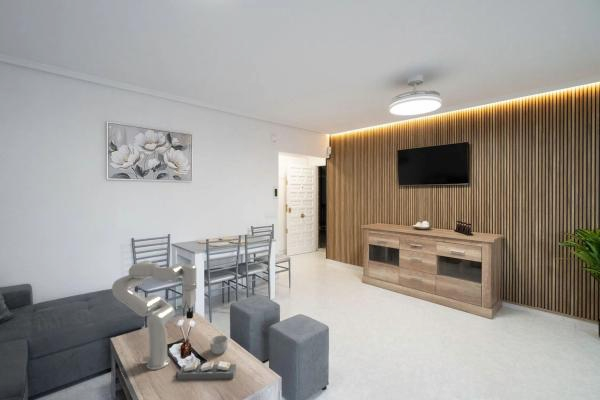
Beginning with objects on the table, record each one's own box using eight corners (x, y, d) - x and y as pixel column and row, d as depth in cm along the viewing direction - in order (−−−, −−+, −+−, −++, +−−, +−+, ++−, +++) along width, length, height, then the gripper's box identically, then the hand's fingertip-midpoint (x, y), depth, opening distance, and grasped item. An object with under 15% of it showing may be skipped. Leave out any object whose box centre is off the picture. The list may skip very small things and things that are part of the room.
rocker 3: (217, 368, 157) (218, 365, 157) (219, 363, 161) (220, 360, 161) (228, 370, 157) (228, 367, 157) (229, 365, 161) (230, 362, 161)
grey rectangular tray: (173, 379, 154) (173, 372, 154) (179, 370, 162) (179, 364, 162) (233, 378, 155) (233, 371, 155) (236, 369, 163) (236, 362, 163)
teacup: (222, 357, 175) (222, 344, 175) (206, 355, 177) (206, 342, 177) (232, 345, 189) (232, 333, 188) (217, 343, 191) (217, 332, 191)
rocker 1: (184, 371, 156) (183, 368, 156) (187, 366, 161) (186, 363, 160) (195, 368, 156) (194, 365, 156) (198, 364, 161) (197, 361, 161)
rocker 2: (201, 371, 156) (200, 368, 156) (203, 366, 161) (202, 363, 161) (211, 368, 157) (211, 365, 157) (214, 363, 161) (213, 360, 161)
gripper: (187, 282, 171) (187, 312, 172) (177, 291, 156) (178, 324, 157) (200, 282, 171) (200, 312, 172) (191, 291, 156) (191, 323, 157)
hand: (189, 317), depth 164 cm, fingers closed
